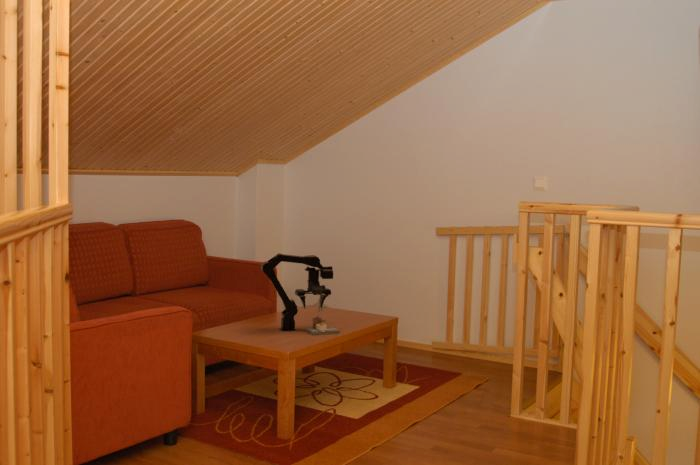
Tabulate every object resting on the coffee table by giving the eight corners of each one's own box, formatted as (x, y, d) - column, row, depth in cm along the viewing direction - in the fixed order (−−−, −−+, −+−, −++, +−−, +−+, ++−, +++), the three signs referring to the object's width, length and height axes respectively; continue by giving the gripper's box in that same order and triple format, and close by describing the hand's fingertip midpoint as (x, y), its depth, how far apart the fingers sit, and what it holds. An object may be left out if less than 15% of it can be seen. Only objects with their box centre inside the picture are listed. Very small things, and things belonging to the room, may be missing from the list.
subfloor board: (313, 335, 404) (313, 331, 404) (304, 330, 415) (304, 327, 415) (339, 333, 410) (339, 330, 410) (331, 328, 421) (331, 325, 421)
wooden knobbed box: (315, 328, 413) (315, 317, 412) (312, 327, 416) (313, 316, 416) (321, 328, 414) (321, 316, 414) (319, 326, 417) (319, 315, 417)
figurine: (330, 321, 440) (331, 295, 439) (326, 322, 437) (327, 296, 435) (313, 319, 446) (313, 293, 444) (309, 320, 442) (310, 294, 441)
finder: (319, 330, 407) (319, 325, 406) (316, 328, 411) (316, 323, 411) (326, 330, 408) (326, 324, 408) (323, 328, 413) (323, 323, 412)
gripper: (301, 281, 406) (300, 311, 408) (335, 280, 413) (334, 310, 414) (295, 278, 417) (294, 307, 418) (328, 277, 423) (327, 306, 425)
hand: (312, 308), depth 418 cm, fingers open, 9 cm apart
